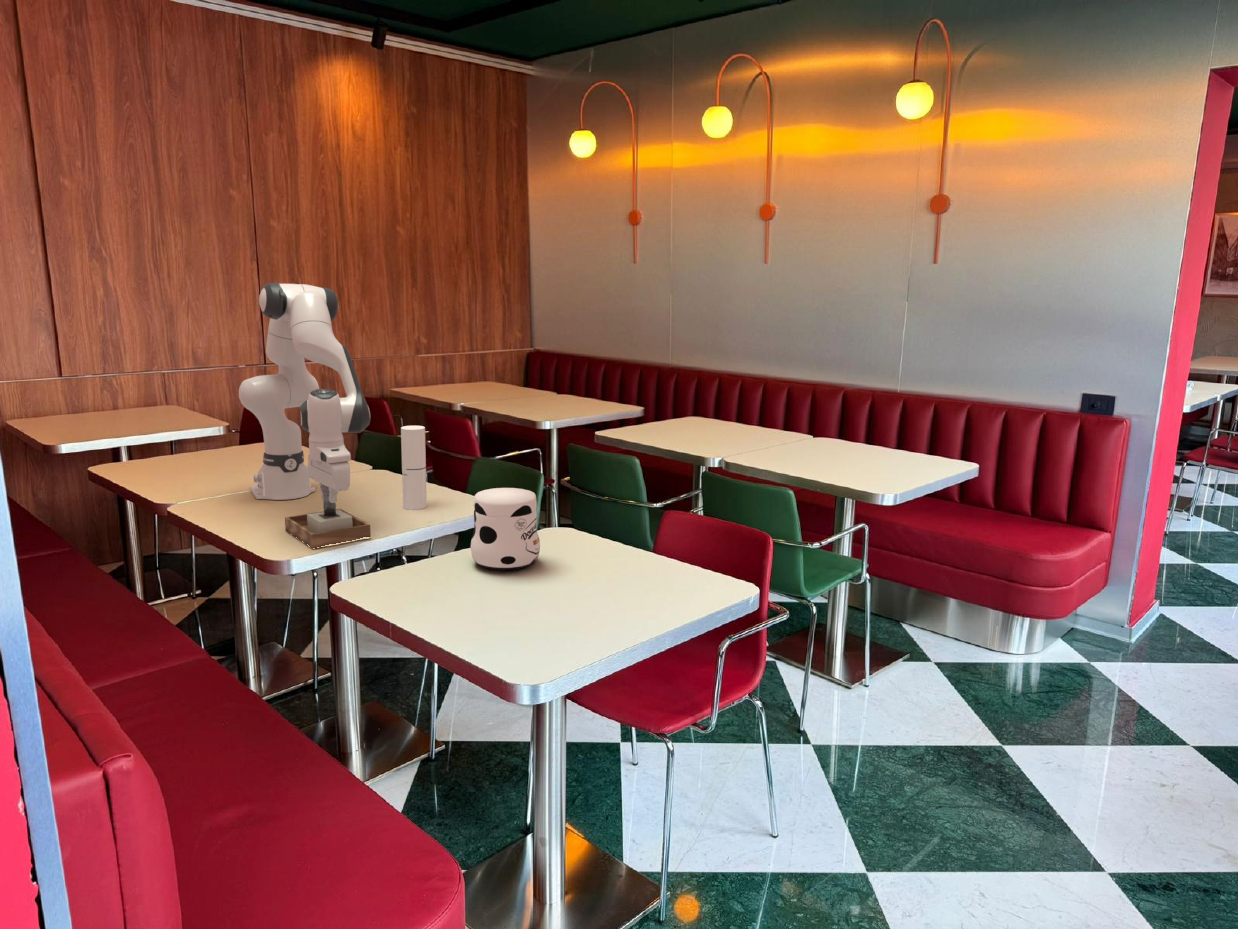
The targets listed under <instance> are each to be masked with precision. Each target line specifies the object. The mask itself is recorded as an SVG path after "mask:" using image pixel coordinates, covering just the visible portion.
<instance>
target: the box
mask: <svg viewBox="0 0 1238 929" xmlns="http://www.w3.org/2000/svg"><path fill="white" fill-rule="evenodd" d="M336 510H341V511H343V512H344V513H346V514H348V515H350V516H352V522H353V527H349V528H344V529H338V530H332V531H326V532H320V533H315V534H314V533H312V532H311V531H309V530H308V524H307V514H308V513H305V514H304V513H303V514H298V515H297V514H296V515H292V516H287V517H286V516H285V517H284V527H285V528H284V529H285V532H286V531H287V532H288V534H289V535H290V534H292V535H293V536H294V538H295V537H297V538H298V539H299V540H301V541H303V542H304V543H305V544H308V545H309V546H310V547H311V548H317V547H321V546H325V545H329V544H336V543H341V542H346V541H352V540H356V539H360V538H363V537H371V535H372V534H371V533H372V532H371V524H369V523H368V522H366V521H365V520H362V519H360V518H359V517H357V516H354V515H353V514H352V513H349V512H348V511H345V510H344V509H342V508H336ZM320 512H324V510H323V511H317V512H310V513H309V514H314V513H320ZM287 532H286V533H287ZM292 535H291V536H292ZM293 536H292V537H293ZM298 539H297V540H298ZM299 540H298V541H299ZM301 541H300V542H301ZM304 543H303V544H304ZM305 544H304V545H305ZM310 547H309V548H310ZM311 548H310V549H311Z"/></svg>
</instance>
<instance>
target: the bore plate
mask: <svg viewBox="0 0 1238 929" xmlns="http://www.w3.org/2000/svg"><path fill="white" fill-rule="evenodd" d="M319 512H320V513H316V512H313V513H314V514H310V513H306V514H307V524H308V530H309V531H311V532H312V533H314V534H315V533H320V532H326V531H332V530H338V529H344V528H349V527H353V522H352V516H350V515H348V514H346V513H344V512H343V511H341V510H336V516H332V517H326V516H324V512H322V511H319Z"/></svg>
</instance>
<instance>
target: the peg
mask: <svg viewBox="0 0 1238 929" xmlns="http://www.w3.org/2000/svg"><path fill="white" fill-rule="evenodd" d="M322 487H323V498H322V502H323V504H322V505H323V511H324V516H326V517H332V516H336V509H337V502H335V503H330V502H329V501H328V496H329V493H330V491H329V487H327V486H325V485H323V484H322Z"/></svg>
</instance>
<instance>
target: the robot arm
mask: <svg viewBox="0 0 1238 929" xmlns="http://www.w3.org/2000/svg"><path fill="white" fill-rule="evenodd" d="M258 303H259V304H258V305H259V307H260V311H261V313H262V314H263V315H264V316H265V317H266V318H269V323H268V328H267V329H268V330H267V336H266V337H267V338H266V346H265V353H266V354H265V355H266V356H267V358H268V359H269V361H270V362H272V363H273V364H275V365H277V366H278V373H274V374H263V375H256V376H253V377H250V378H246V379H245V380H243V381H242V382H241V384H240V385H239V388H238V398H239V401H240V403H241V404H242V405H243V407H244V408H245V409H246V410H248V411H249V412H250V413H252V414H253V415H254V416H255V418H256V419H257V420H258V422H259V424H260V426H261V430H262V435H263V445H264V453H263V456H262V462H263V464H262V466H261V467H260V469H259V470H258V471H257V473H256V474H254V475H253V482H254V483H257V484H253V485H251V486H250V491H251V492H252V494H253V496H254V498H255V499H257V500H273V501H276V500H277V501H280V500H281V501H283V500H284V501H285V500H294V499H301V498H304V497H306V496H308V495H310V494H311V493H314V492H316V487H314V486H312V485H311V480H313V481H315V482H317V483H318V488H319V489H320V492H321V493H320V494H321V499H323V487H322V484H323V485H325V486H327V487H329V491H330V493H329V496H328V501H329V502H330V503H335V502H336V503H337V501H338V499H337V496H338V494H339V492H342V491H344V492H345V491H348V490H349V488H350V484H351V468H350V467H351V465H350V463H349V462H350V461H351V459H352V455H351V452H350V451H349V450H348V449H347V448H346V445H345V442H344V436H343V433H347V434H351V433H352V434H356V433H357V434H361V433H362V432H363V431H364V430H365V429H366V428H368V427H369V426H370V423H371V412H370V408H369V405H368V403H367V400H366V398H365V396H364V392H363V390H362V387H361V383H360V382H359V378H358V374H357V372H356V369H355V366H354V364H353V360H352V358H351V357H352V356H351V354H350V352H349V350H348V348H347V347H346V345H345V344H342V343H340V342H339V341H338V340H337V338H336V336H335V335H334V331H333V326H332V321H334V320H335V319H336V317H337V315H338V312H339V299H338V295H337V294H336V292H335V291H334V290H333V289H330V288H328V287H325V286H322V287H319V286H315V285H311V284H305V283H299V284H297V283H279V282H269V283H266V284H264V285H263V286H262V288H261V290H260V294H259V298H258ZM305 359H306V360H309V361H310V362H313V363H317V364H320V365H323V366H326V367H328V368H330V369H333V370H335V371H336V372H337V373H338V375H339V377H340V379H341V382H342V385H343V389H344V392H345V395H346V397H340V395H339V393H338V392H337V391H336V390H333V389H330V388H320V385H319V383H318V381H317V379H316V377H315V376H314V375H312V374H311V372H309V370H308V368H307V366H306V363H305V361H306V360H305ZM291 408H299V412H300V424H299V425H298V423H296V422H294V420H293V421H292V420H290V419H288V417H287V415H286V412H285V411H286V410H285V409H291ZM301 428H302V429H303V430H304V431H306V433H307V432H308V433H309V437H308V450H309V452H308V456H307V457H308V458H307V464H305V454H304V450H303V448H302V446H303V445H302V430H301Z"/></svg>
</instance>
